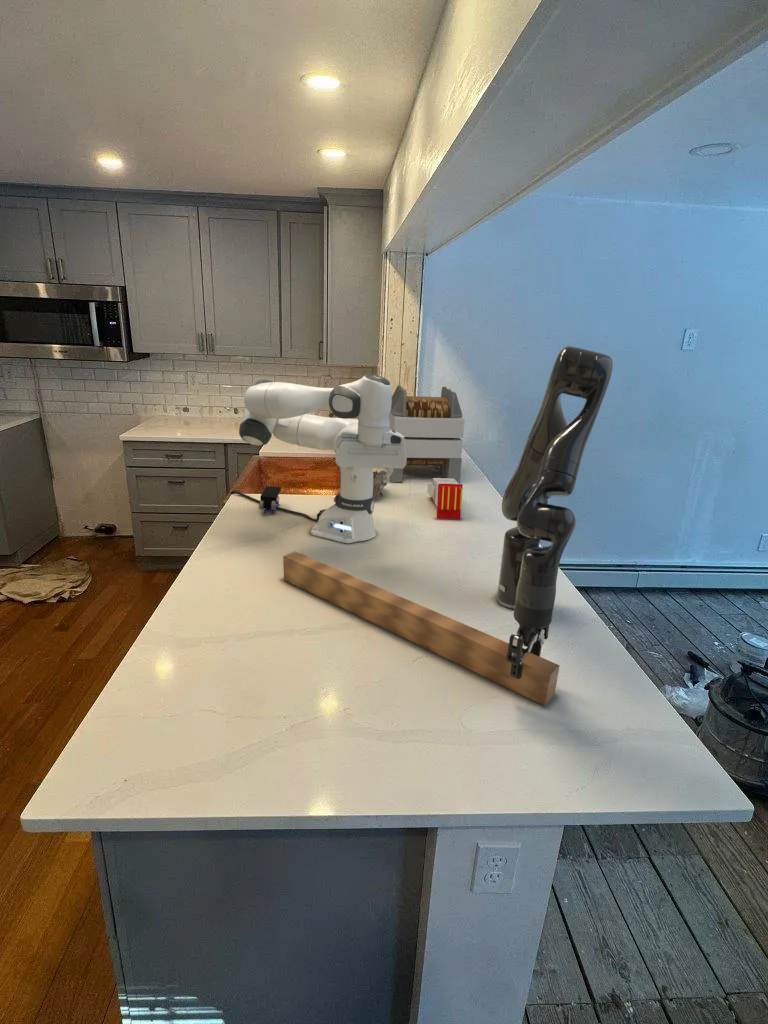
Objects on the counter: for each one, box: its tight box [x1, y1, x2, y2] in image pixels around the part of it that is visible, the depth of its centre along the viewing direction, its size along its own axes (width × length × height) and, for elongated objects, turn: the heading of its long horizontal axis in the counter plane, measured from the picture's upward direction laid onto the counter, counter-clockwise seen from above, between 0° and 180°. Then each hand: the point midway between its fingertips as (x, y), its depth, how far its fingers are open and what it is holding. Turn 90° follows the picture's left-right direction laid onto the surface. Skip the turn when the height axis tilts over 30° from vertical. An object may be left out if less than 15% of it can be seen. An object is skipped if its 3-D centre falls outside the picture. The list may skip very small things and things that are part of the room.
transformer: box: [389, 384, 465, 484], centre depth 268 cm, size 34×33×41 cm
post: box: [282, 551, 560, 707], centre depth 140 cm, size 81×4×8 cm, turn 50°
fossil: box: [372, 470, 388, 498], centre depth 238 cm, size 22×10×15 cm
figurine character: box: [258, 485, 282, 515], centre depth 216 cm, size 7×8×15 cm
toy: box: [427, 477, 464, 520], centre depth 227 cm, size 12×13×30 cm
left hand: (369, 481), depth 164 cm, fingers open, 8 cm apart
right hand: (525, 668), depth 119 cm, fingers open, 8 cm apart
